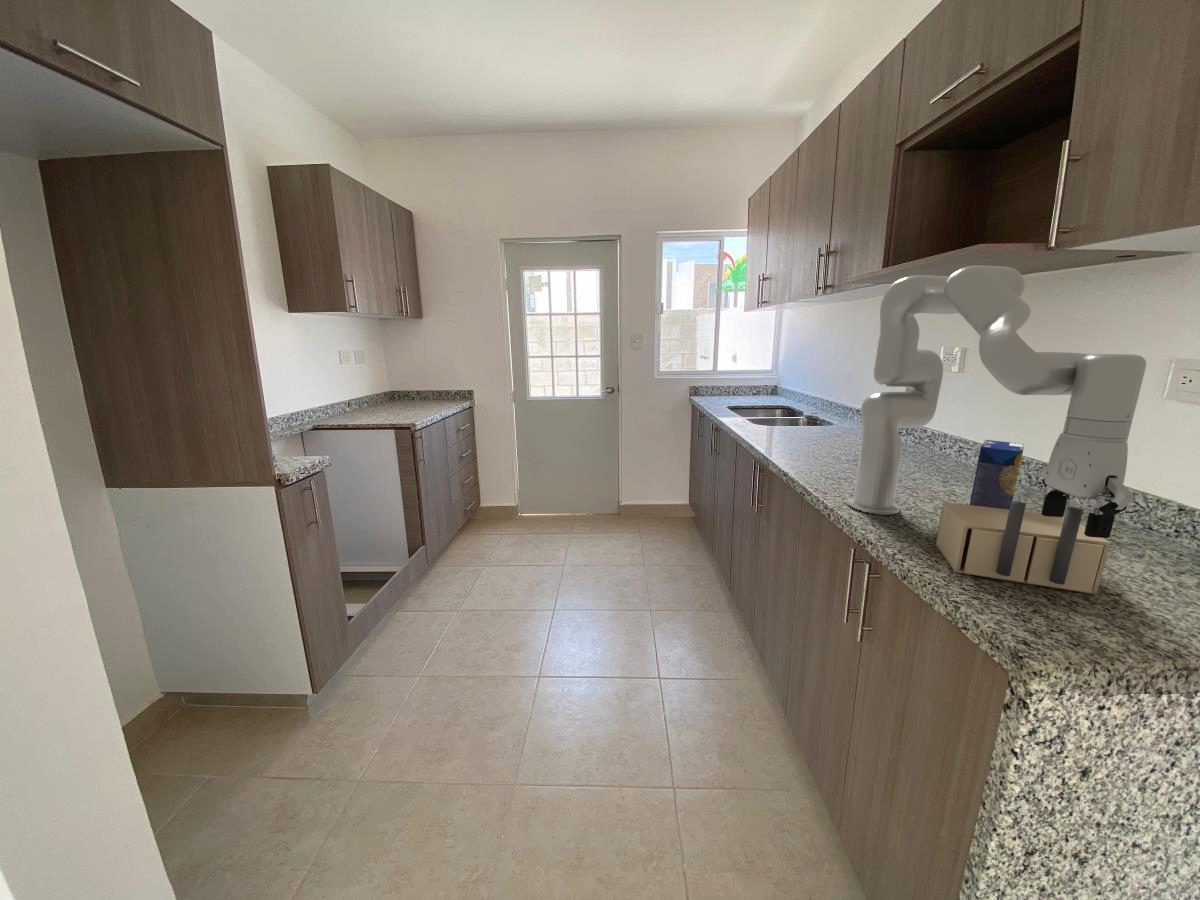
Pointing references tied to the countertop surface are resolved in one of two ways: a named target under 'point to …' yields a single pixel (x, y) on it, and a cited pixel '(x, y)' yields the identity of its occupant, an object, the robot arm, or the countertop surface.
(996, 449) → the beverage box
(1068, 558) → the flap
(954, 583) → the countertop surface
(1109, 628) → the countertop surface
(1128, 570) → the countertop surface
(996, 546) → the flap
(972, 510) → the wooden cabinet
